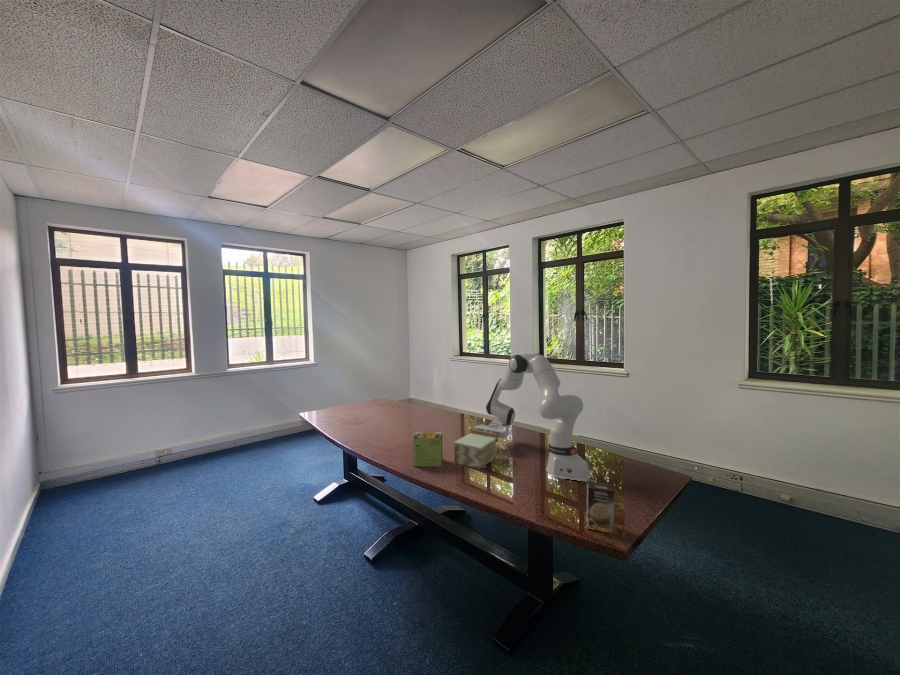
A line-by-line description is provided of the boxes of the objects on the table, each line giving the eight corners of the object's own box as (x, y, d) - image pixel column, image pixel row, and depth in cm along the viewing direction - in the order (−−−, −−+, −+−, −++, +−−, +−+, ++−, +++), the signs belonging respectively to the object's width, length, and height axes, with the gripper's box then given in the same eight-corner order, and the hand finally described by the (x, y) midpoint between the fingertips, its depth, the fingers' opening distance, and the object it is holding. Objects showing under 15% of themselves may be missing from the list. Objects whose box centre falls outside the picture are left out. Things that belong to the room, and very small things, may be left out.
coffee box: (586, 530, 133) (587, 487, 132) (586, 520, 139) (586, 480, 138) (613, 534, 130) (614, 491, 129) (612, 525, 136) (612, 483, 135)
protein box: (441, 466, 191) (441, 438, 190) (412, 466, 191) (412, 437, 190) (442, 459, 201) (442, 431, 200) (415, 459, 202) (415, 431, 201)
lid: (497, 441, 204) (497, 433, 203) (480, 452, 186) (480, 444, 186) (472, 436, 213) (472, 428, 213) (453, 446, 196) (453, 438, 195)
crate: (495, 458, 202) (495, 440, 202) (480, 469, 187) (480, 450, 187) (471, 452, 211) (471, 435, 211) (454, 462, 196) (454, 444, 196)
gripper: (480, 421, 225) (469, 426, 214) (510, 426, 214) (500, 432, 202) (480, 431, 225) (469, 437, 214) (510, 436, 214) (500, 443, 203)
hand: (485, 434), depth 208 cm, fingers closed, pressing on lid
